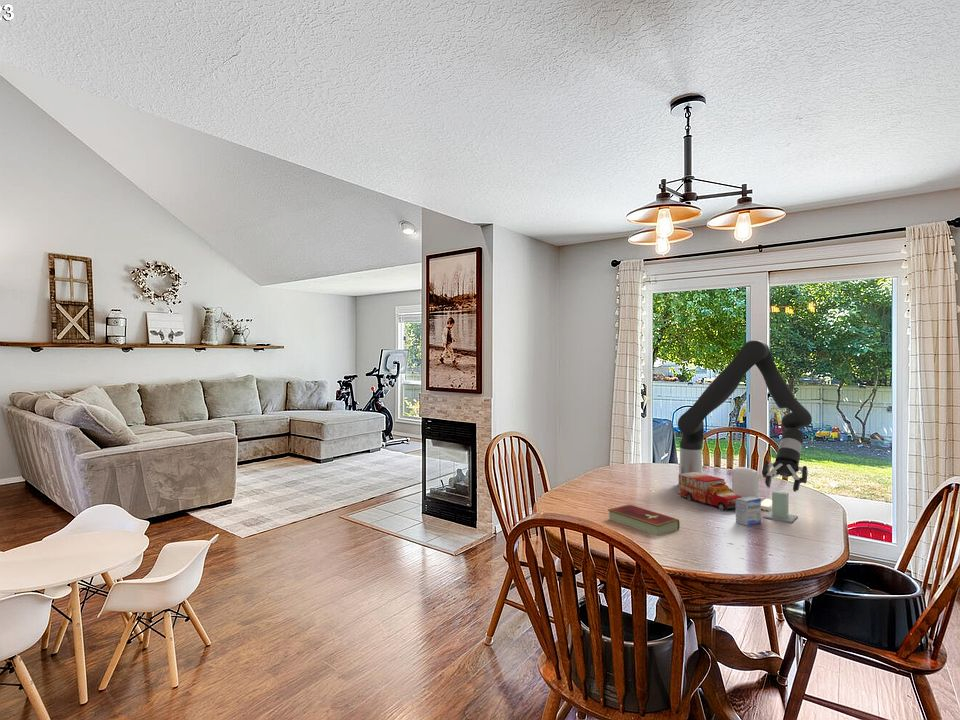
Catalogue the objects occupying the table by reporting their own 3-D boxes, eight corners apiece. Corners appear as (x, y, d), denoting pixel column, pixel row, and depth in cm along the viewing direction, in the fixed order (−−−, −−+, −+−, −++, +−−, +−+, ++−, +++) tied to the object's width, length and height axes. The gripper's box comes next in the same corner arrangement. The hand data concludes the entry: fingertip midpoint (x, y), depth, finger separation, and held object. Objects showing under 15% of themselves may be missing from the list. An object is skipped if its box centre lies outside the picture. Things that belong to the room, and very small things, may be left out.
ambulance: (725, 513, 187) (725, 486, 187) (676, 496, 210) (676, 473, 210) (746, 510, 191) (746, 484, 191) (696, 494, 214) (696, 471, 214)
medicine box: (747, 526, 171) (747, 501, 171) (735, 522, 175) (735, 498, 175) (761, 523, 175) (761, 498, 175) (749, 519, 179) (749, 495, 179)
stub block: (772, 515, 182) (772, 492, 182) (774, 513, 184) (774, 490, 184) (786, 518, 178) (786, 494, 178) (788, 516, 180) (788, 492, 181)
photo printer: (730, 495, 211) (730, 466, 211) (734, 493, 214) (734, 465, 214) (755, 500, 203) (755, 470, 203) (760, 498, 206) (760, 469, 206)
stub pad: (763, 517, 181) (763, 516, 181) (770, 512, 187) (770, 510, 187) (791, 523, 175) (791, 521, 175) (797, 517, 181) (797, 515, 181)
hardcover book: (629, 514, 186) (629, 503, 186) (679, 530, 169) (679, 518, 169) (607, 520, 179) (607, 508, 179) (656, 537, 162) (657, 524, 162)
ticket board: (757, 508, 192) (757, 504, 192) (765, 502, 200) (765, 498, 200) (771, 511, 188) (771, 507, 188) (780, 504, 197) (780, 500, 197)
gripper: (766, 444, 194) (757, 478, 185) (809, 449, 184) (802, 485, 175) (770, 456, 197) (761, 490, 189) (812, 461, 187) (805, 497, 179)
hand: (781, 488), depth 182 cm, fingers open, 8 cm apart
